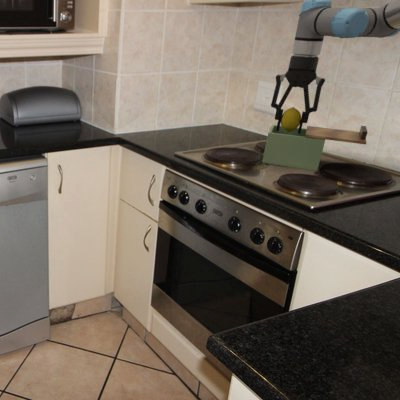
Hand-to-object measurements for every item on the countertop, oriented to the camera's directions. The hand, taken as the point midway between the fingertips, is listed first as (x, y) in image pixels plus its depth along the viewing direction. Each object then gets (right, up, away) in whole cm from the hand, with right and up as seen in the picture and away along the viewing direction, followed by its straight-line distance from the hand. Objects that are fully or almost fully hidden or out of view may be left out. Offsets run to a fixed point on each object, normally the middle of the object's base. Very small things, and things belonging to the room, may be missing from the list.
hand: (288, 131), depth 151 cm
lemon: (0, -1, 0) cm, 1 cm away
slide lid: (+11, -2, -6) cm, 13 cm away
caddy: (+2, -9, +3) cm, 10 cm away
